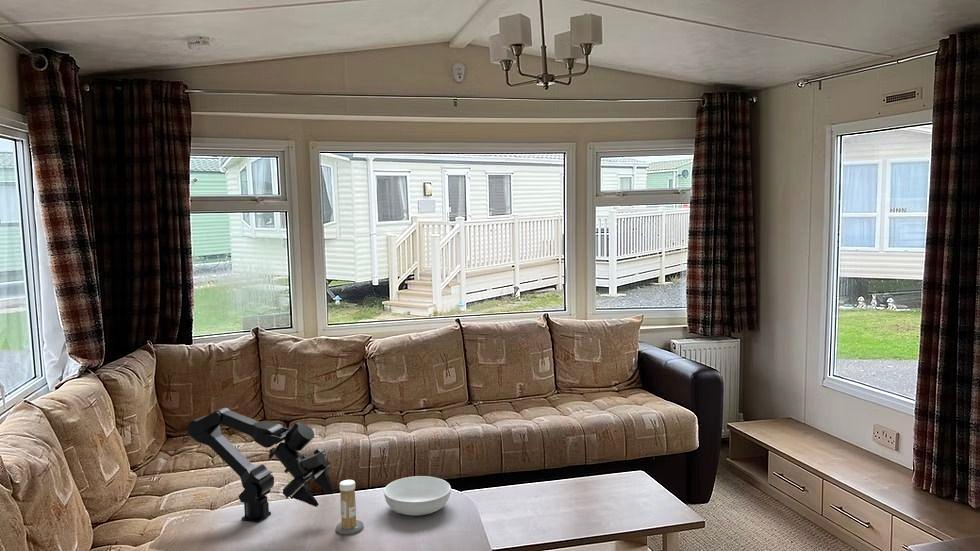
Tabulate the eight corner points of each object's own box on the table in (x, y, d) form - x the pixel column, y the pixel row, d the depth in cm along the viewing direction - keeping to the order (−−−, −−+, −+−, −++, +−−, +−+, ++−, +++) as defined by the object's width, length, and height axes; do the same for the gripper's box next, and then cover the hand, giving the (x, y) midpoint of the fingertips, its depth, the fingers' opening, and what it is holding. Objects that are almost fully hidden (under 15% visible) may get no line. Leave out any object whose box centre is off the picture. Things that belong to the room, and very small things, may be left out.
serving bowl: (448, 524, 200) (448, 501, 200) (378, 524, 201) (378, 502, 200) (453, 495, 221) (453, 475, 221) (390, 495, 222) (389, 475, 221)
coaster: (330, 532, 196) (330, 530, 196) (344, 521, 203) (344, 518, 203) (355, 536, 193) (355, 533, 193) (368, 524, 201) (368, 521, 201)
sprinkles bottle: (357, 528, 197) (356, 483, 196) (341, 530, 195) (340, 485, 194) (355, 521, 201) (354, 478, 200) (340, 523, 200) (338, 480, 198)
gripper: (291, 453, 191) (326, 495, 189) (324, 433, 209) (357, 471, 207) (267, 477, 194) (302, 519, 192) (302, 455, 211) (334, 493, 209)
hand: (325, 499), depth 200 cm, fingers open, 9 cm apart
